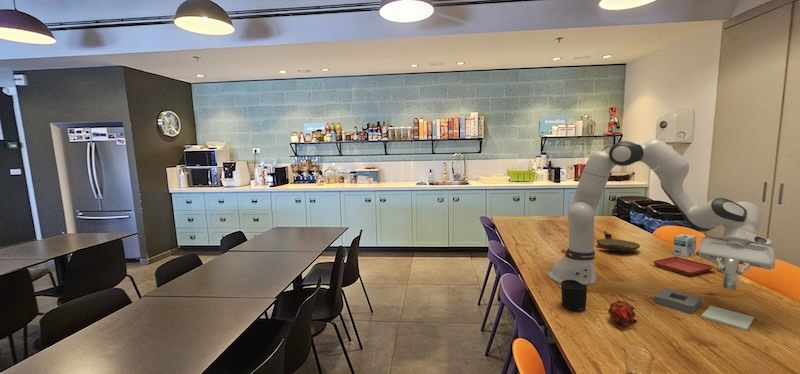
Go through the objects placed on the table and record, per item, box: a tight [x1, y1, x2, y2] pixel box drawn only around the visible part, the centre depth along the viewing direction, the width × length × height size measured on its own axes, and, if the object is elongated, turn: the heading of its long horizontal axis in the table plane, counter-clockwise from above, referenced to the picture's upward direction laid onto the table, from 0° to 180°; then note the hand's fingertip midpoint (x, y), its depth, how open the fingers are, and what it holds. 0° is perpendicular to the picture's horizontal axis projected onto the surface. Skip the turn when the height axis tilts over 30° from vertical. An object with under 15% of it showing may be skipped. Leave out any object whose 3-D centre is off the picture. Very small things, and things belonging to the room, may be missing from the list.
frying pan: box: [596, 230, 641, 252], centre depth 205 cm, size 22×30×8 cm
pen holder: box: [560, 280, 588, 313], centre depth 136 cm, size 9×9×10 cm
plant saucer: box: [652, 255, 715, 277], centre depth 170 cm, size 18×18×3 cm
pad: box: [701, 305, 755, 331], centre depth 123 cm, size 12×12×1 cm
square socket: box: [654, 287, 703, 315], centre depth 135 cm, size 12×12×3 cm
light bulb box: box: [673, 233, 697, 258], centre depth 190 cm, size 11×7×11 cm, turn 117°
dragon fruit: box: [607, 300, 638, 326], centre depth 123 cm, size 8×8×12 cm
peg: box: [722, 258, 740, 291], centre depth 121 cm, size 4×4×11 cm
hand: (730, 271), depth 120 cm, fingers closed on peg, 4 cm apart
